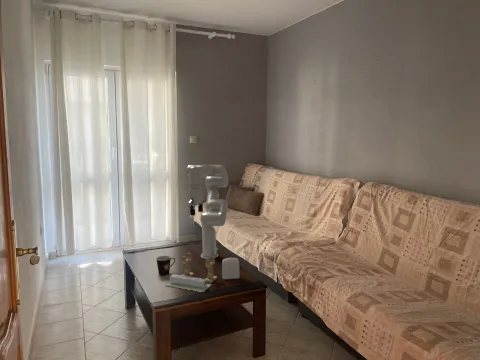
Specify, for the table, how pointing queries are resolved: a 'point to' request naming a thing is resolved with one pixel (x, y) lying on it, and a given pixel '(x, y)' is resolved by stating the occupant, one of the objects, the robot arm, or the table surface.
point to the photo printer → (230, 268)
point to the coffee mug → (164, 265)
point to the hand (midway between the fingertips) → (196, 213)
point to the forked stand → (207, 263)
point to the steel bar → (188, 281)
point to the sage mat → (188, 287)
